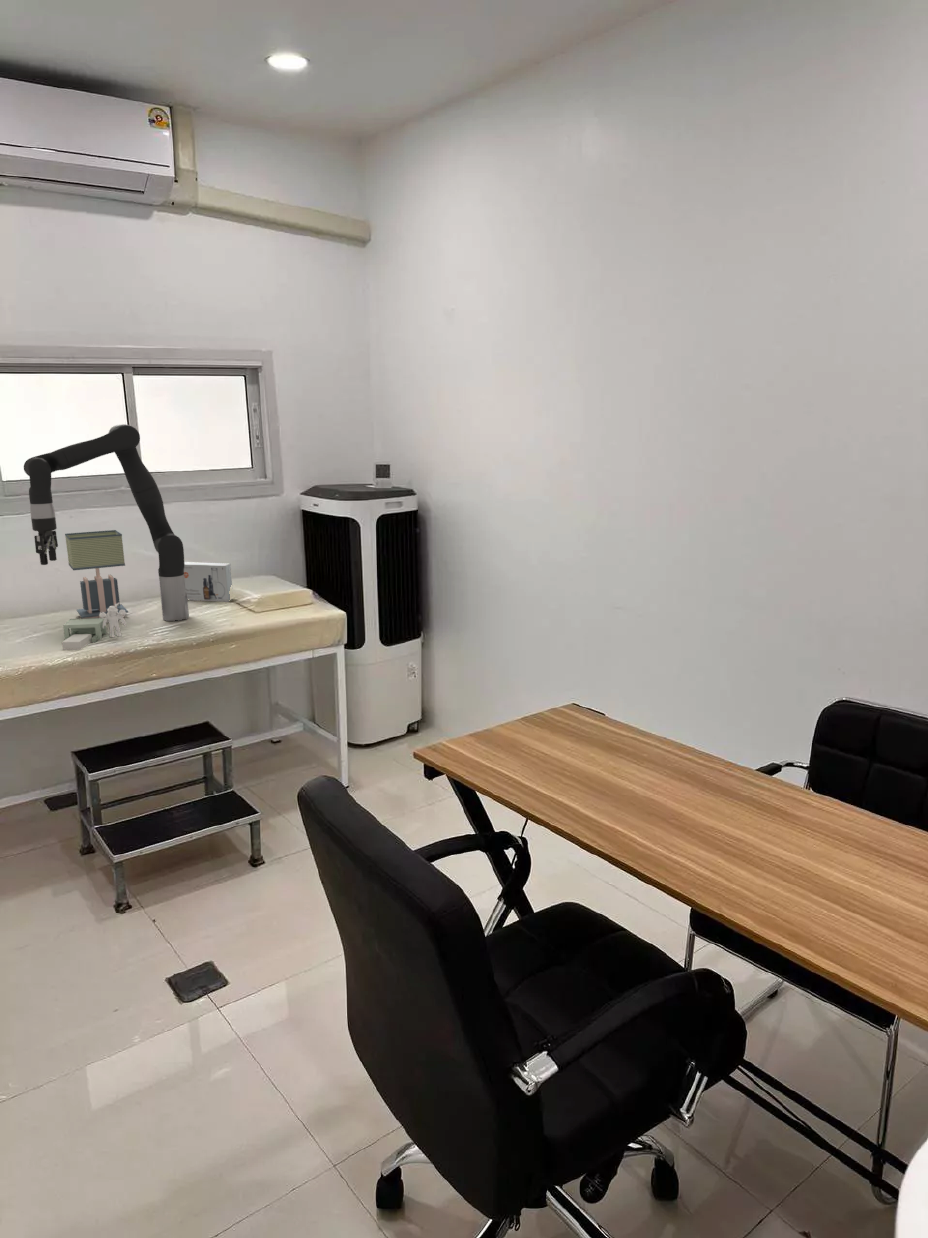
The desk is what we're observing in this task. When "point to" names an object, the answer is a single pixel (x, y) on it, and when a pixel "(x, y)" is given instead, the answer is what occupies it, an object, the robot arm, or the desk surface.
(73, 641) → the cover plate
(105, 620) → the hat wearing toy figure
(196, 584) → the skincare box
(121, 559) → the desk lamp
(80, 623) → the shelf
